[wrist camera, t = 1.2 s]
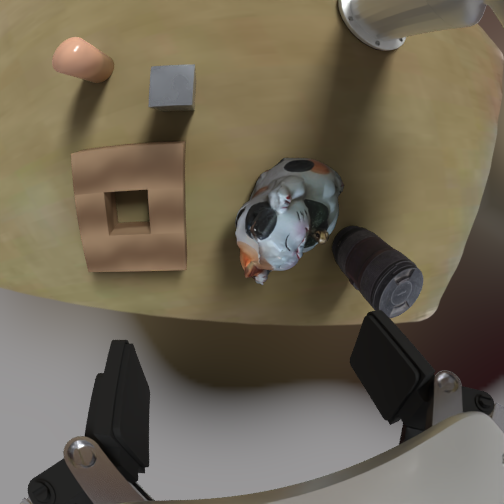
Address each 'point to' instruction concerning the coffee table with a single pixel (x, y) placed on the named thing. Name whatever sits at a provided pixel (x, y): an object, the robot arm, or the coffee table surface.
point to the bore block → (105, 212)
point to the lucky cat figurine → (287, 215)
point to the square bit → (172, 88)
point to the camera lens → (377, 270)
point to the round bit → (82, 61)
